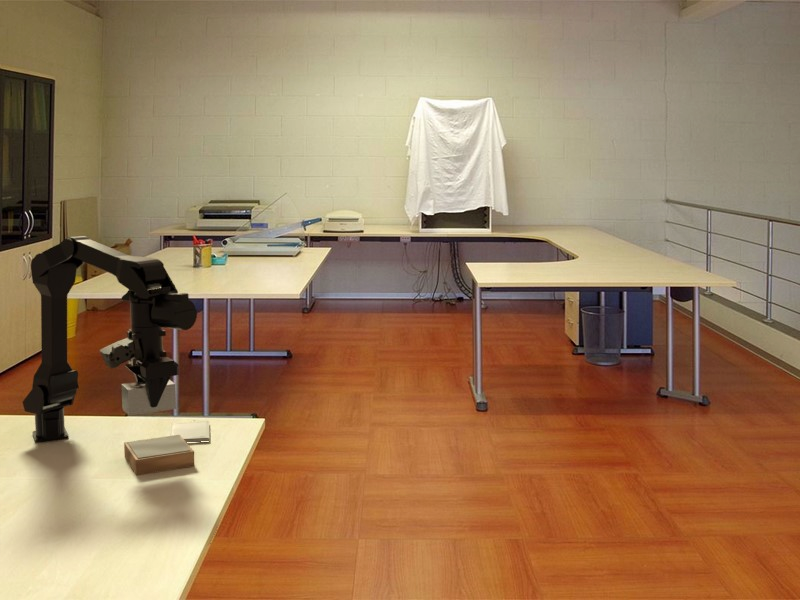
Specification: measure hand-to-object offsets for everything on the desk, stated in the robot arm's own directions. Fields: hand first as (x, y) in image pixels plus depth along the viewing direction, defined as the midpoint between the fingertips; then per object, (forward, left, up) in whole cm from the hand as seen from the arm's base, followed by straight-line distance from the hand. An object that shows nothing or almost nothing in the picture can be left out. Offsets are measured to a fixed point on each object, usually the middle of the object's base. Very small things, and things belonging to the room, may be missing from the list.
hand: (149, 403), depth 156 cm
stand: (0, +1, -12) cm, 12 cm away
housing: (0, 0, -1) cm, 1 cm away
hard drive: (-13, +11, -13) cm, 22 cm away
